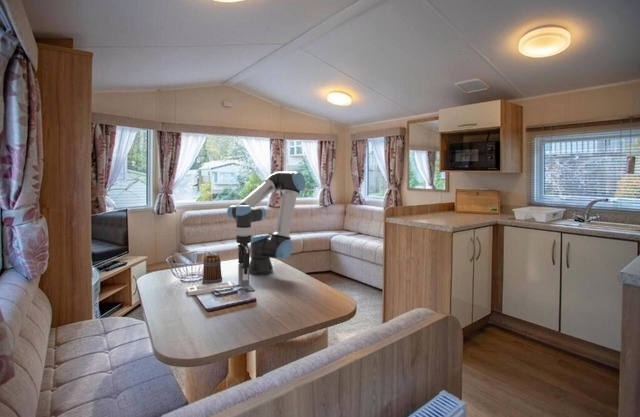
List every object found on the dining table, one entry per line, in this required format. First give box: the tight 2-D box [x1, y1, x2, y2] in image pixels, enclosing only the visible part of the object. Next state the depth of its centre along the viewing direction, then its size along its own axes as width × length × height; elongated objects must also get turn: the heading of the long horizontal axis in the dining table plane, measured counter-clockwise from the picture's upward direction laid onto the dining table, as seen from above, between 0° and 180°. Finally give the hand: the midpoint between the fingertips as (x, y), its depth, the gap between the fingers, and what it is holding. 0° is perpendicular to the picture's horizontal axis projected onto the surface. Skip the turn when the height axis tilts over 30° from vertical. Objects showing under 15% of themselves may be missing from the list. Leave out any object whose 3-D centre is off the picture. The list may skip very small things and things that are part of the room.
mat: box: [242, 284, 256, 293], centre depth 186 cm, size 9×9×1 cm
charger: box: [237, 263, 250, 288], centre depth 185 cm, size 4×4×12 cm
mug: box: [201, 253, 223, 285], centre depth 197 cm, size 16×11×15 cm
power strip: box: [186, 280, 240, 296], centre depth 183 cm, size 28×7×4 cm, turn 118°
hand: (243, 278), depth 185 cm, fingers closed on charger, 4 cm apart
